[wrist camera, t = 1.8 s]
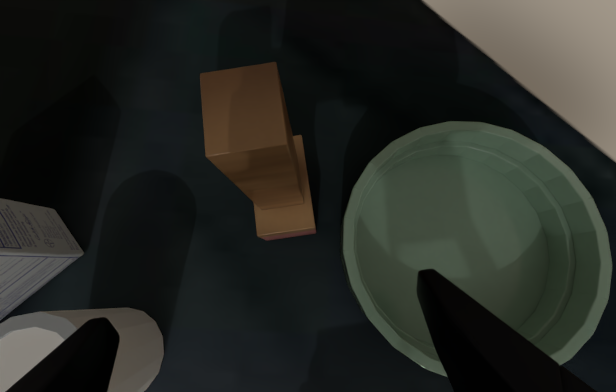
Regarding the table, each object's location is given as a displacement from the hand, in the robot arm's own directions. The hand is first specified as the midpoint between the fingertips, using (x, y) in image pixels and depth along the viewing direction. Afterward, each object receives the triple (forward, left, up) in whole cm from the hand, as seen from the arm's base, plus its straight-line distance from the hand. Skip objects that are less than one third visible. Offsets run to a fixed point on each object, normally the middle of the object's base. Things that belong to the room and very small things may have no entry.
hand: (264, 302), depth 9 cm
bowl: (+3, -10, -12) cm, 16 cm away
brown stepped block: (+6, +1, -12) cm, 14 cm away
